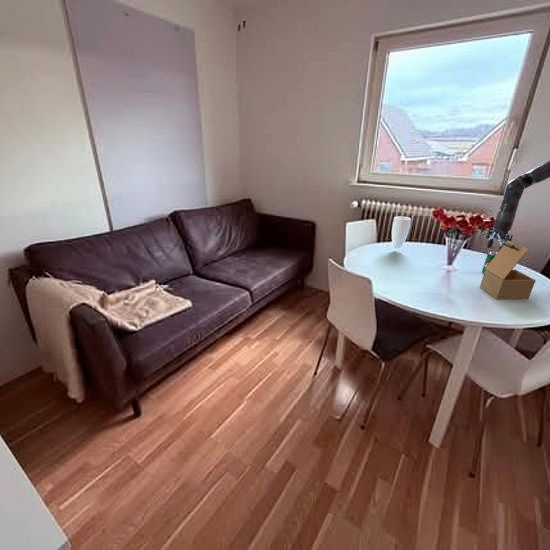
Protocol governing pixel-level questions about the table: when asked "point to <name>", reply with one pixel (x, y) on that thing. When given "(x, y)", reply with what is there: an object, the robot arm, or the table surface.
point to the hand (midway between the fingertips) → (494, 250)
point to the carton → (507, 285)
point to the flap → (506, 259)
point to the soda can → (488, 259)
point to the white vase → (400, 230)
